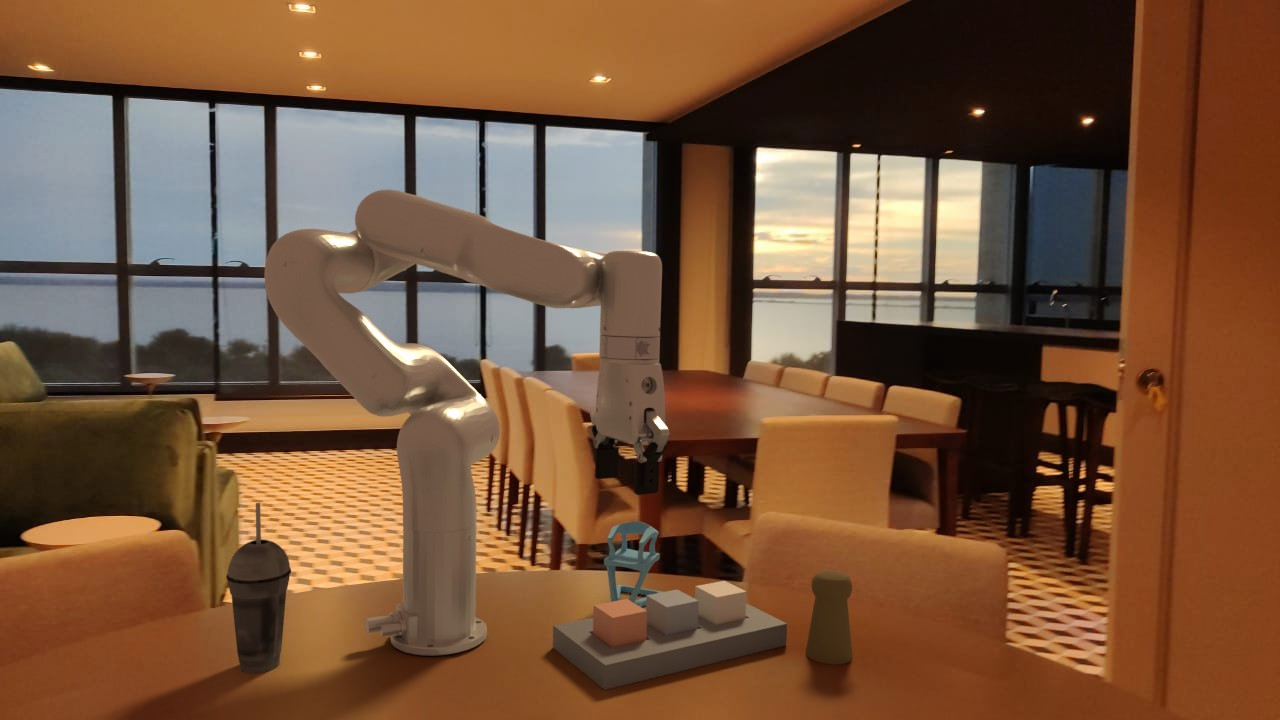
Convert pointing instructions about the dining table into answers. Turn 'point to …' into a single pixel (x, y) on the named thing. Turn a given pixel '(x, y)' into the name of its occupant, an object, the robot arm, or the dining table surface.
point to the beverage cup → (259, 601)
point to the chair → (631, 559)
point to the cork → (830, 619)
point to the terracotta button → (619, 623)
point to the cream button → (721, 602)
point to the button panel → (666, 648)
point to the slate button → (672, 612)
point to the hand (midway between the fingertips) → (625, 485)
